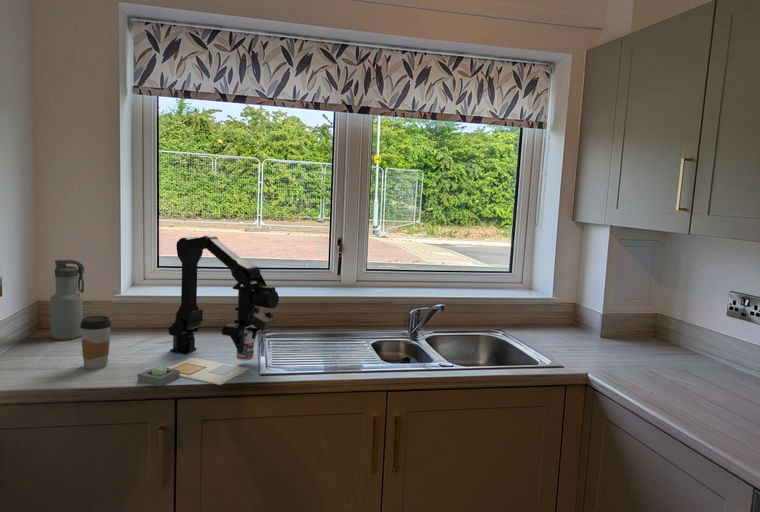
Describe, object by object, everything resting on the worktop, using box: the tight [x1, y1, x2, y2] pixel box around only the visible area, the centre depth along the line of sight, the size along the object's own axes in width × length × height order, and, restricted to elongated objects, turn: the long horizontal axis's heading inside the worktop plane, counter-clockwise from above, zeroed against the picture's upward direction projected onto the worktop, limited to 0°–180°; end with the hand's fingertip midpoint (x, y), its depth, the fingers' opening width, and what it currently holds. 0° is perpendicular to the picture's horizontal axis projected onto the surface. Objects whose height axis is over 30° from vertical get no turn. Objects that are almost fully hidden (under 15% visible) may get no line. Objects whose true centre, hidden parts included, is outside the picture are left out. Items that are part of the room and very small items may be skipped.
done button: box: [151, 365, 168, 376], centre depth 148 cm, size 4×4×2 cm
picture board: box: [167, 357, 250, 386], centre depth 157 cm, size 22×15×1 cm
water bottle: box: [49, 258, 85, 341], centre depth 181 cm, size 10×10×28 cm
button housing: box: [137, 365, 181, 387], centre depth 148 cm, size 8×8×2 cm
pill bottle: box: [236, 331, 255, 362], centre depth 165 cm, size 5×5×9 cm
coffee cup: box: [80, 315, 112, 370], centre depth 155 cm, size 8×8×15 cm
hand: (245, 350), depth 165 cm, fingers closed on pill bottle, 5 cm apart
